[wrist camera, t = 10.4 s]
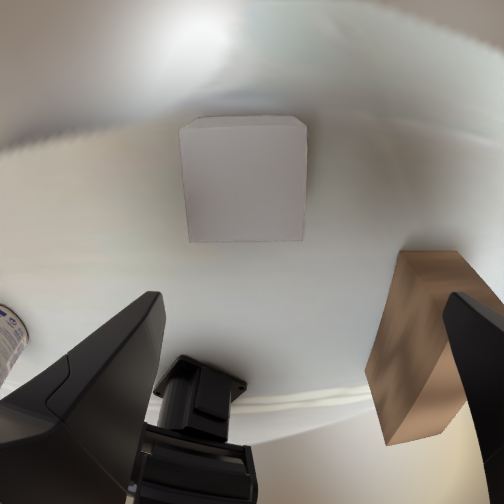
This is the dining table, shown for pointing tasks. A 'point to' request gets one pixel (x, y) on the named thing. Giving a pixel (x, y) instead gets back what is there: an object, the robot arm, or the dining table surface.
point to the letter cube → (244, 178)
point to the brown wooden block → (420, 345)
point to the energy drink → (10, 341)
